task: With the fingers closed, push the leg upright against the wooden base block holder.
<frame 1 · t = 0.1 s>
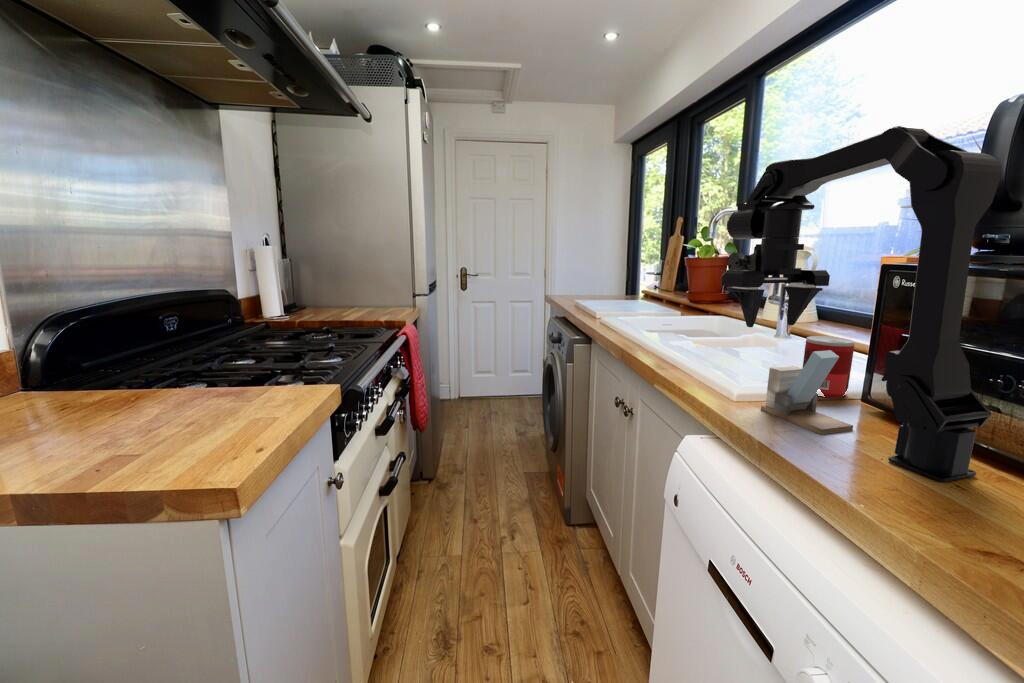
hand: (770, 326, 85), 15 cm above the worktop, tool pointing down, fingers open, 9 cm apart
leg: (809, 381, 78), point 7 cm above the worktop, hinge at 25.0°
canned food: (822, 393, 94), on the worktop
wooden base block holder: (803, 419, 79), on the worktop
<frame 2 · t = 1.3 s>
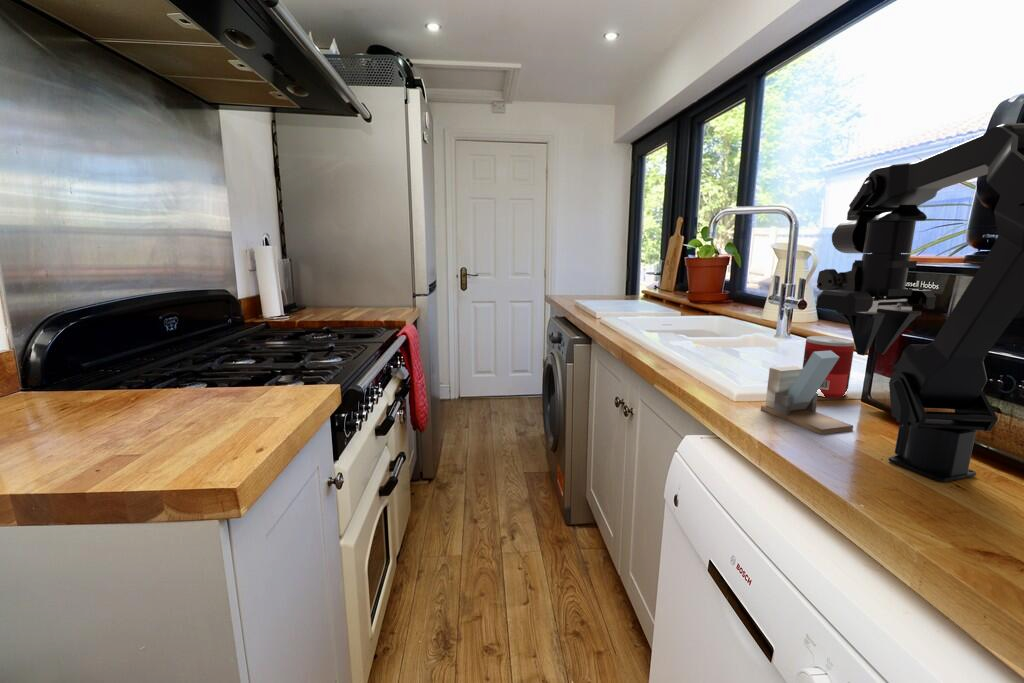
hand: (870, 354, 74), 12 cm above the worktop, tool pointing down, fingers open, 4 cm apart
nothing on the worktop moved.
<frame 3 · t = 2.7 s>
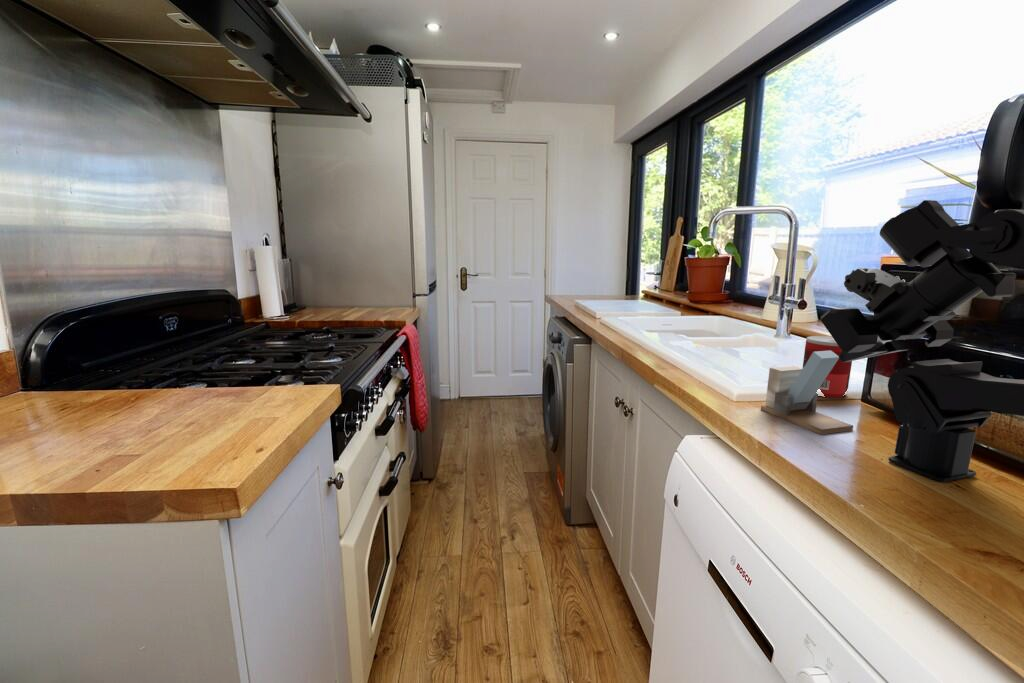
hand: (842, 359, 72), 12 cm above the worktop, tool tilted 45°, fingers closed
nothing on the worktop moved.
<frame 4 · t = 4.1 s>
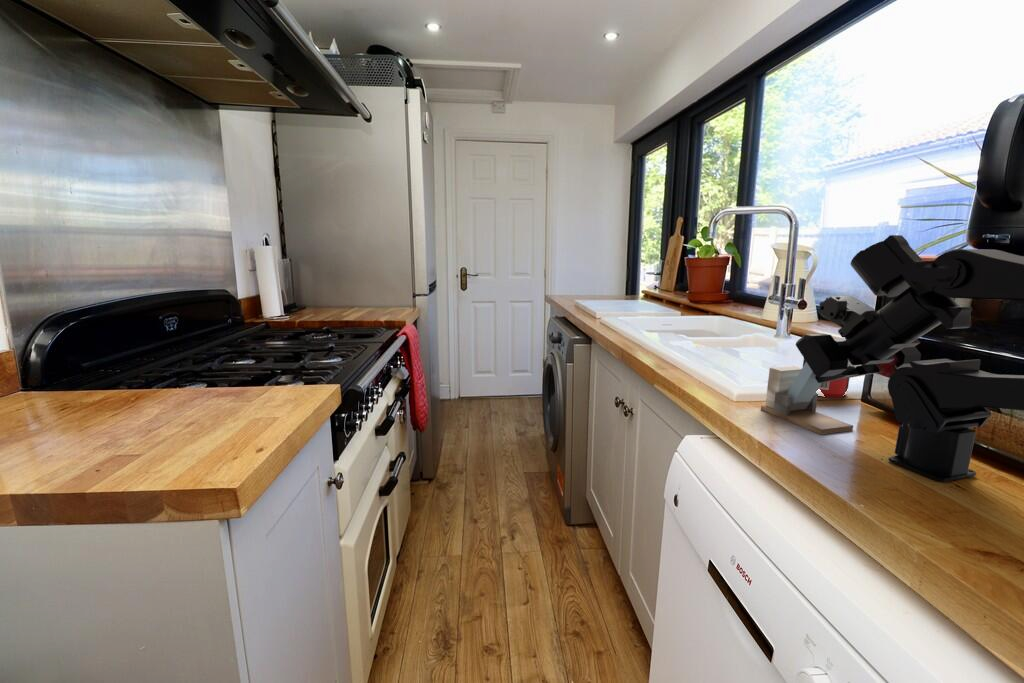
hand: (818, 380, 76), 7 cm above the worktop, tool tilted 45°, fingers closed, pressing on leg
leg: (808, 381, 78), point 7 cm above the worktop, hinge at 24.1°, touching gripper
everything else where it was.
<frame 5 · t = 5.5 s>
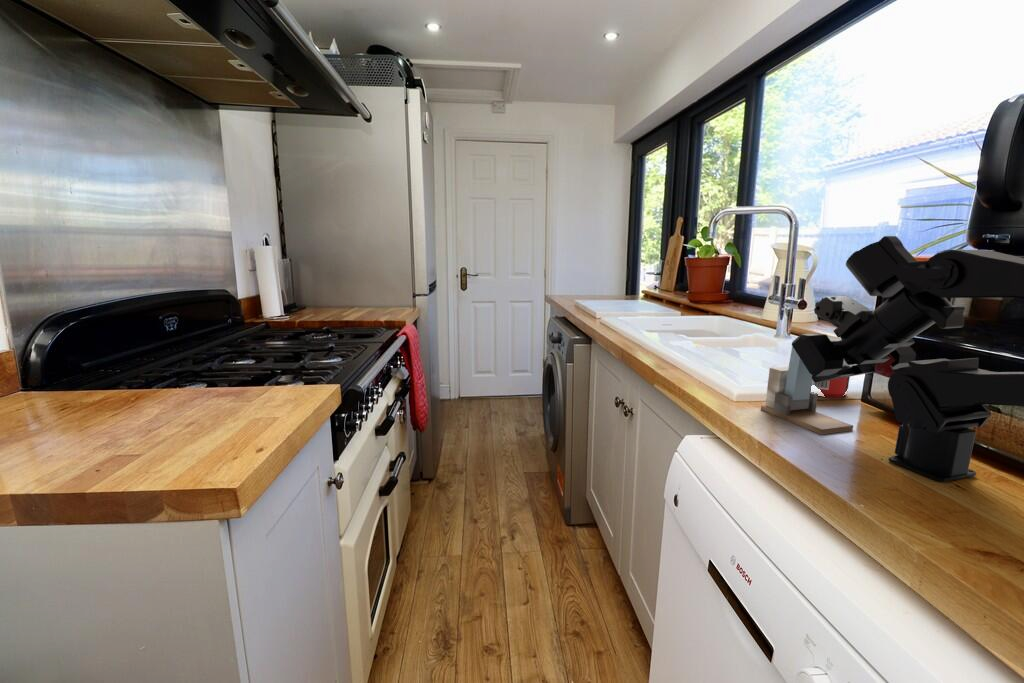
hand: (814, 379, 77), 7 cm above the worktop, tool tilted 45°, fingers closed
leg: (800, 376, 79), point 7 cm above the worktop, hinge at 3.0°
everything else where it was.
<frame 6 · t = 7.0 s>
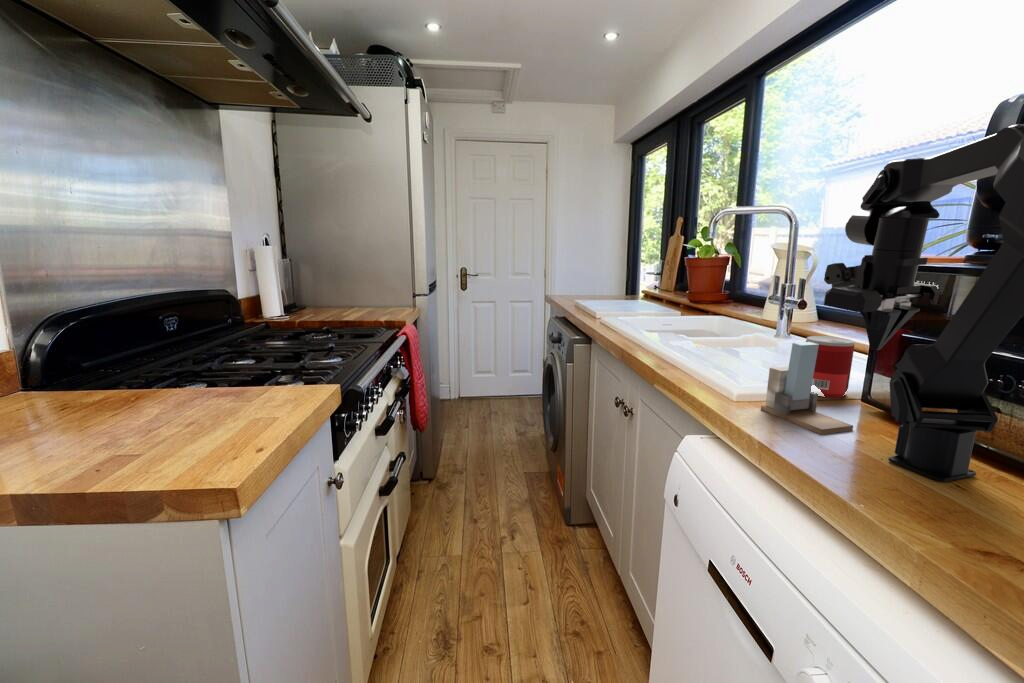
hand: (875, 349, 74), 13 cm above the worktop, tool pointing down, fingers closed
nothing on the worktop moved.
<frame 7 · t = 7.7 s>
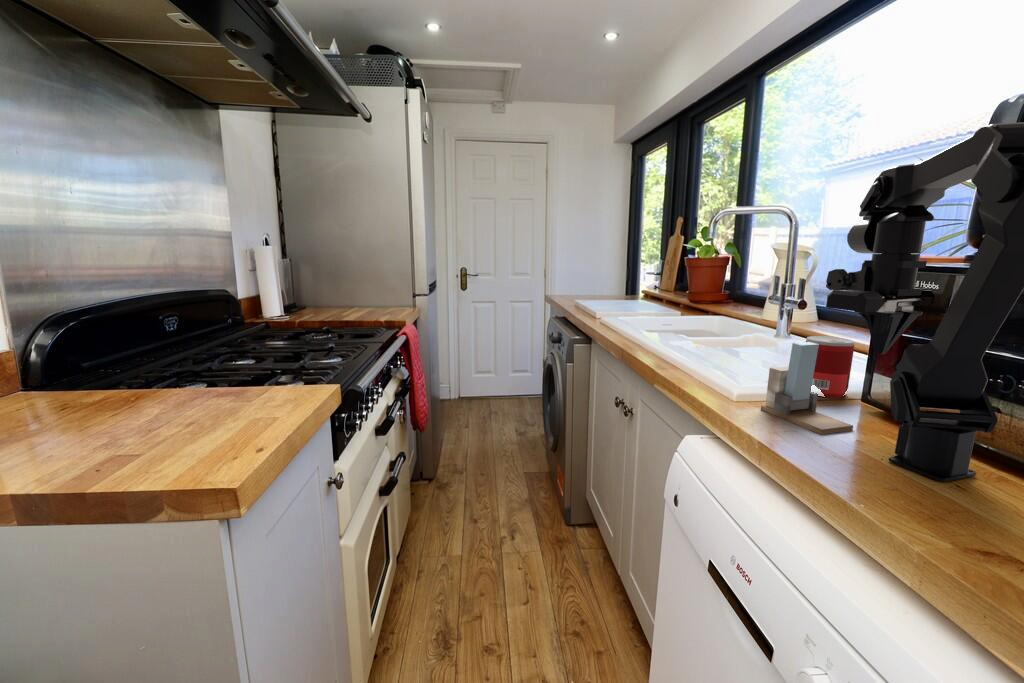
hand: (879, 353, 74), 12 cm above the worktop, tool pointing down, fingers closed
nothing on the worktop moved.
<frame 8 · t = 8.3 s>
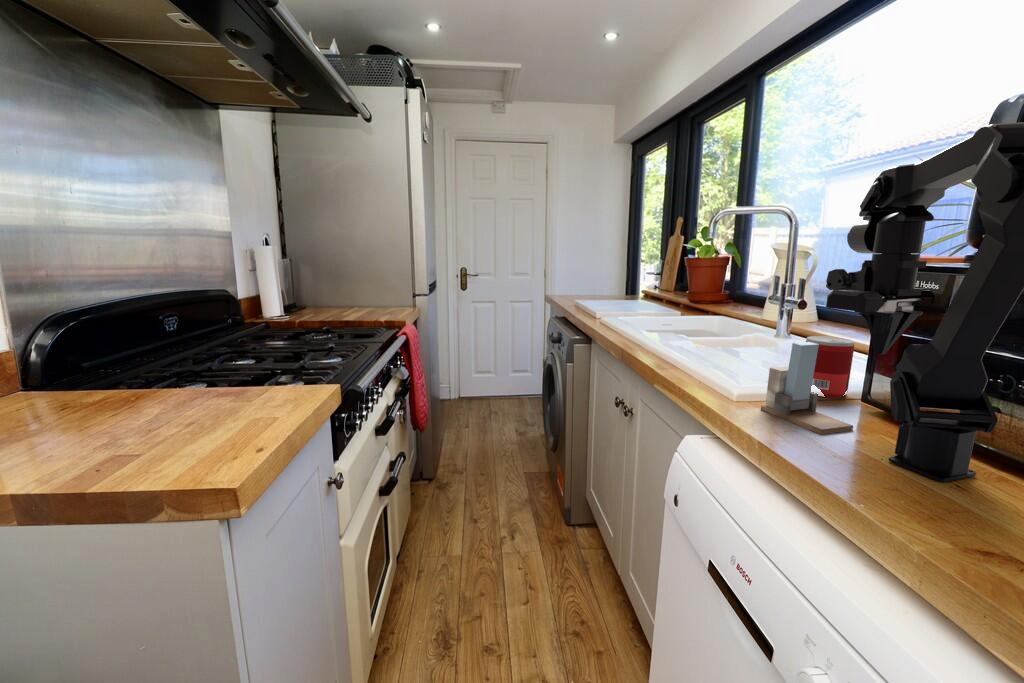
hand: (879, 353, 74), 12 cm above the worktop, tool pointing down, fingers closed
nothing on the worktop moved.
at the end: leg at +3° (first picture: +25°); leg touching nothing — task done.
